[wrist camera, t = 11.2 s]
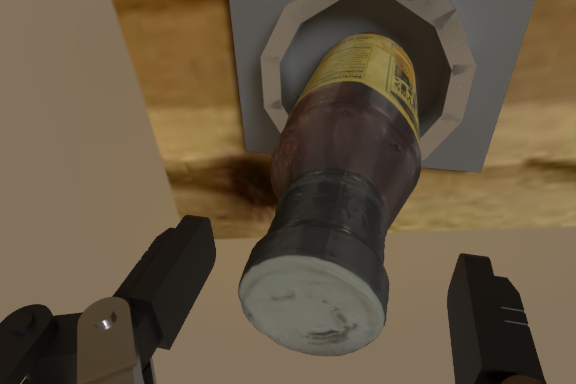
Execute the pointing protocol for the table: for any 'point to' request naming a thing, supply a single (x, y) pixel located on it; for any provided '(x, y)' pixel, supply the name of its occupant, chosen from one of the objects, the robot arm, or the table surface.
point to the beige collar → (436, 118)
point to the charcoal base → (418, 46)
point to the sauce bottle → (336, 201)
